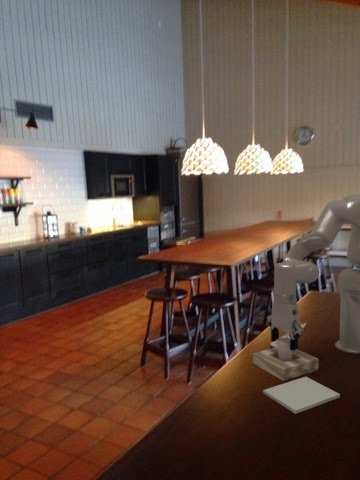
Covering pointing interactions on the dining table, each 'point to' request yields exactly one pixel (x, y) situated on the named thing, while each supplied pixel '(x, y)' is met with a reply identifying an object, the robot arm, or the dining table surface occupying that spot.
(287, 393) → the serving board
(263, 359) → the wooden square frame
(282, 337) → the white long flared piece
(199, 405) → the dining table surface
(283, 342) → the smoothie
